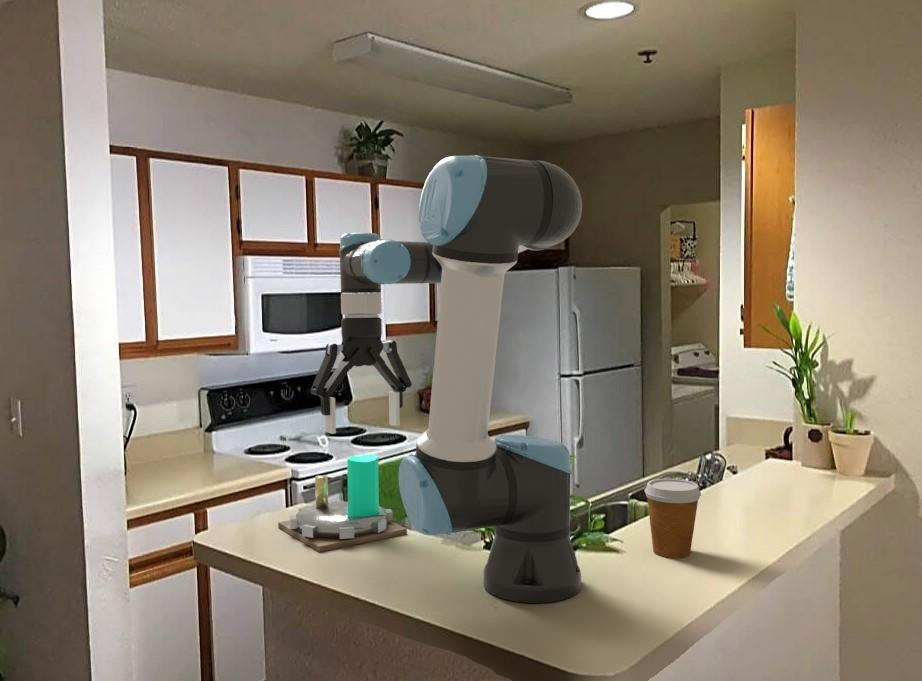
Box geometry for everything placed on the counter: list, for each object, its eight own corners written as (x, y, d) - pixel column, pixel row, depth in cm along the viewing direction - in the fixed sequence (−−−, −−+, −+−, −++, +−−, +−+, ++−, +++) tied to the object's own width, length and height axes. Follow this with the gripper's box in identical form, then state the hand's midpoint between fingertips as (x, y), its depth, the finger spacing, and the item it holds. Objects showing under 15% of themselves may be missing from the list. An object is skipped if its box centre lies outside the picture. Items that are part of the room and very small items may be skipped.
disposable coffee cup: (702, 563, 140) (703, 492, 139) (644, 559, 141) (645, 490, 141) (697, 545, 149) (698, 479, 148) (643, 542, 151) (644, 476, 150)
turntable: (384, 507, 170) (383, 468, 169) (400, 534, 151) (399, 491, 151) (288, 513, 165) (287, 474, 165) (292, 543, 147) (291, 498, 146)
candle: (382, 508, 161) (381, 446, 160) (375, 516, 155) (375, 453, 154) (351, 507, 162) (350, 446, 161) (344, 515, 156) (343, 452, 155)
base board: (406, 533, 156) (406, 528, 156) (319, 552, 146) (319, 546, 146) (361, 512, 171) (361, 507, 171) (278, 527, 161) (278, 522, 160)
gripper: (407, 314, 166) (409, 420, 167) (290, 317, 152) (293, 433, 153) (428, 315, 160) (429, 424, 161) (308, 318, 146) (310, 438, 147)
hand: (363, 429), depth 157 cm, fingers open, 13 cm apart
